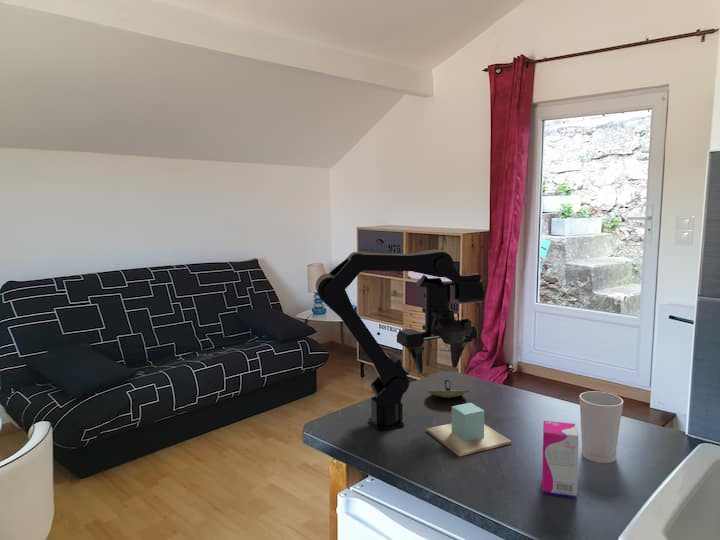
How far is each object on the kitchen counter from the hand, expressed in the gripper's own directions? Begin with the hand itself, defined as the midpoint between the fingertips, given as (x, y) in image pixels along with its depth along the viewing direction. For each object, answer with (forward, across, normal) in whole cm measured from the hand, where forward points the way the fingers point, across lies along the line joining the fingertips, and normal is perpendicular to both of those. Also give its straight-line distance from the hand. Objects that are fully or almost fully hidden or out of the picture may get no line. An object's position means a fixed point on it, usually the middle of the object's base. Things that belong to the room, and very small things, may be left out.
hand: (437, 370), depth 125 cm
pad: (+12, +1, -11) cm, 16 cm away
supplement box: (+12, +4, -35) cm, 37 cm away
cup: (+12, +20, -29) cm, 37 cm away
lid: (+12, +9, +10) cm, 18 cm away
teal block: (+11, +1, -11) cm, 16 cm away
